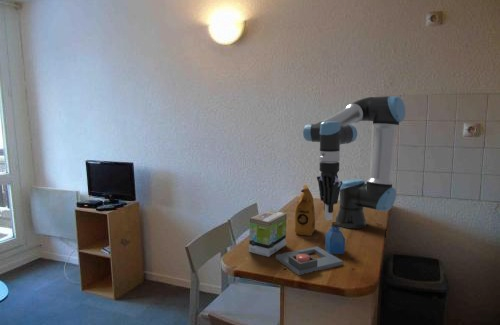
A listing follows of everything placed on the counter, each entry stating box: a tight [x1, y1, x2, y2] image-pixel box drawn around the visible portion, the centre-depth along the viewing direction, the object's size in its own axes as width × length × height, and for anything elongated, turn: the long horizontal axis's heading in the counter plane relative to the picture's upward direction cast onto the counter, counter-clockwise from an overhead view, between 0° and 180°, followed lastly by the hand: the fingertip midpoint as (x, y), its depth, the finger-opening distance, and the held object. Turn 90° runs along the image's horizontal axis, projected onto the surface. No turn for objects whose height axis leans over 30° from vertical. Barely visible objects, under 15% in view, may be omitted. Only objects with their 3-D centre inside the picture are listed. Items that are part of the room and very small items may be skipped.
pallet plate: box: [275, 245, 344, 276], centre depth 134 cm, size 20×16×4 cm
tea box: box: [248, 209, 288, 258], centre depth 146 cm, size 15×10×15 cm
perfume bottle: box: [324, 221, 346, 255], centre depth 144 cm, size 6×6×12 cm
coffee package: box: [294, 184, 316, 237], centre depth 167 cm, size 10×12×22 cm
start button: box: [296, 254, 310, 262], centre depth 128 cm, size 5×5×2 cm
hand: (328, 219), depth 139 cm, fingers closed
